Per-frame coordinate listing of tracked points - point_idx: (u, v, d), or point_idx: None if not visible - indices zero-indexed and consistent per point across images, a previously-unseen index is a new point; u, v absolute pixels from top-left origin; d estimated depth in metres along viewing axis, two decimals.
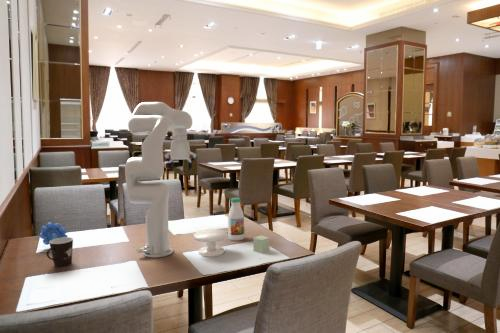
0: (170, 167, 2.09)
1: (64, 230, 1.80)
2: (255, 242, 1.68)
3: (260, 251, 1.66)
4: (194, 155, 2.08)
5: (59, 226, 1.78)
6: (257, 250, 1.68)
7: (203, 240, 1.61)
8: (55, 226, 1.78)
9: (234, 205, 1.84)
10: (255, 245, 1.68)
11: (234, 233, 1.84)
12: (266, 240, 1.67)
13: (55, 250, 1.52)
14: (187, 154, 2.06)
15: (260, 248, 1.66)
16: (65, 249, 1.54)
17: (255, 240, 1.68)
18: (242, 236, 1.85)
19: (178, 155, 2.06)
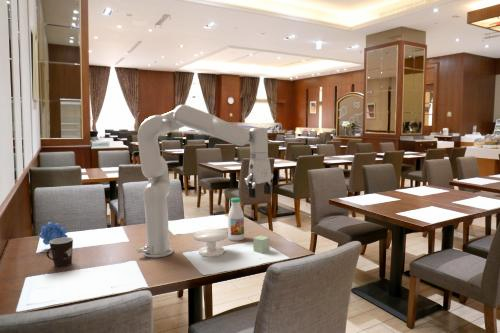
0: (252, 194, 1.62)
1: (64, 230, 1.80)
2: (255, 242, 1.68)
3: (260, 251, 1.66)
4: (272, 175, 1.71)
5: (59, 226, 1.78)
6: (257, 250, 1.68)
7: (203, 240, 1.61)
8: (55, 226, 1.78)
9: (234, 205, 1.84)
10: (255, 245, 1.68)
11: (234, 233, 1.84)
12: (266, 240, 1.67)
13: (55, 250, 1.52)
14: (270, 175, 1.67)
15: (260, 248, 1.66)
16: (65, 249, 1.54)
17: (255, 240, 1.68)
18: (242, 236, 1.85)
19: (263, 177, 1.64)
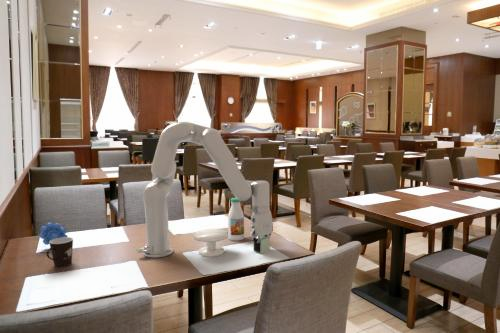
0: (257, 248, 1.66)
1: (64, 230, 1.80)
2: None
3: (261, 250, 1.66)
4: None
5: (59, 226, 1.78)
6: None
7: (203, 240, 1.61)
8: (55, 226, 1.78)
9: (234, 205, 1.84)
10: None
11: (234, 233, 1.84)
12: (266, 240, 1.67)
13: (55, 250, 1.52)
14: (272, 227, 1.70)
15: (260, 248, 1.66)
16: (65, 249, 1.54)
17: None
18: (242, 236, 1.85)
19: (265, 230, 1.66)
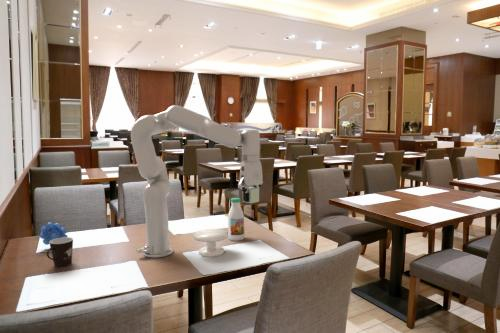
0: (246, 198, 1.63)
1: (64, 230, 1.80)
2: None
3: (250, 200, 1.63)
4: (261, 182, 1.70)
5: (59, 226, 1.78)
6: None
7: (203, 240, 1.61)
8: (55, 226, 1.78)
9: (234, 205, 1.84)
10: None
11: (234, 233, 1.84)
12: (255, 190, 1.65)
13: (55, 250, 1.52)
14: (262, 178, 1.67)
15: (249, 198, 1.64)
16: (65, 249, 1.54)
17: None
18: (242, 236, 1.85)
19: (254, 180, 1.63)
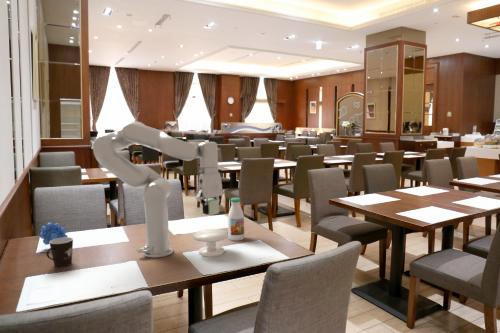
0: (205, 211, 1.63)
1: (64, 230, 1.80)
2: None
3: (209, 212, 1.63)
4: (222, 193, 1.70)
5: (59, 226, 1.78)
6: None
7: (203, 240, 1.61)
8: (55, 226, 1.78)
9: (234, 205, 1.84)
10: None
11: (234, 233, 1.84)
12: (215, 202, 1.64)
13: (55, 250, 1.52)
14: (221, 189, 1.67)
15: None
16: (65, 249, 1.54)
17: None
18: (242, 236, 1.85)
19: (213, 192, 1.63)
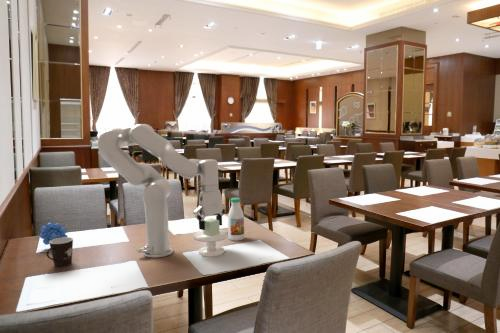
0: (201, 226, 1.62)
1: (64, 230, 1.80)
2: None
3: (209, 233, 1.64)
4: (224, 206, 1.71)
5: (59, 226, 1.78)
6: (206, 233, 1.66)
7: (203, 240, 1.61)
8: (55, 226, 1.78)
9: (234, 205, 1.84)
10: None
11: (234, 233, 1.84)
12: (215, 222, 1.65)
13: (55, 250, 1.52)
14: (221, 206, 1.67)
15: (209, 231, 1.64)
16: (65, 249, 1.54)
17: None
18: (242, 236, 1.85)
19: (213, 209, 1.64)
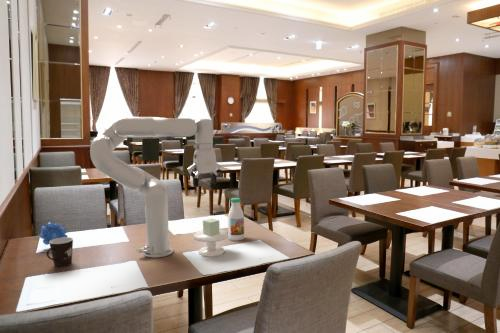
0: (195, 183, 1.67)
1: (64, 230, 1.80)
2: (204, 224, 1.66)
3: (209, 233, 1.64)
4: (219, 166, 1.76)
5: (59, 226, 1.78)
6: (206, 233, 1.66)
7: (203, 240, 1.61)
8: (55, 226, 1.78)
9: (234, 205, 1.84)
10: (204, 228, 1.66)
11: (234, 233, 1.84)
12: (215, 222, 1.65)
13: (55, 250, 1.52)
14: (216, 166, 1.72)
15: (209, 231, 1.64)
16: (65, 249, 1.54)
17: (204, 223, 1.66)
18: (242, 236, 1.85)
19: (207, 168, 1.69)
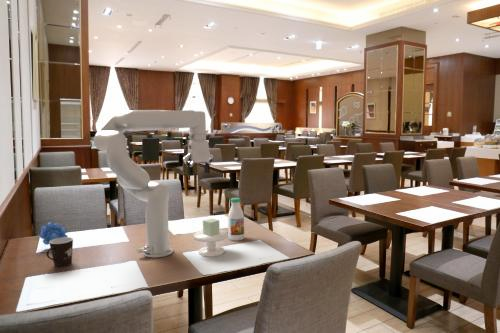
0: (190, 172, 1.77)
1: (64, 230, 1.80)
2: (204, 224, 1.66)
3: (209, 233, 1.64)
4: (211, 156, 1.86)
5: (59, 226, 1.78)
6: (206, 233, 1.66)
7: (203, 240, 1.61)
8: (55, 226, 1.78)
9: (234, 205, 1.84)
10: (204, 228, 1.66)
11: (234, 233, 1.84)
12: (215, 222, 1.65)
13: (55, 250, 1.52)
14: (209, 155, 1.82)
15: (209, 231, 1.64)
16: (65, 249, 1.54)
17: (204, 223, 1.66)
18: (242, 236, 1.85)
19: (201, 157, 1.79)
